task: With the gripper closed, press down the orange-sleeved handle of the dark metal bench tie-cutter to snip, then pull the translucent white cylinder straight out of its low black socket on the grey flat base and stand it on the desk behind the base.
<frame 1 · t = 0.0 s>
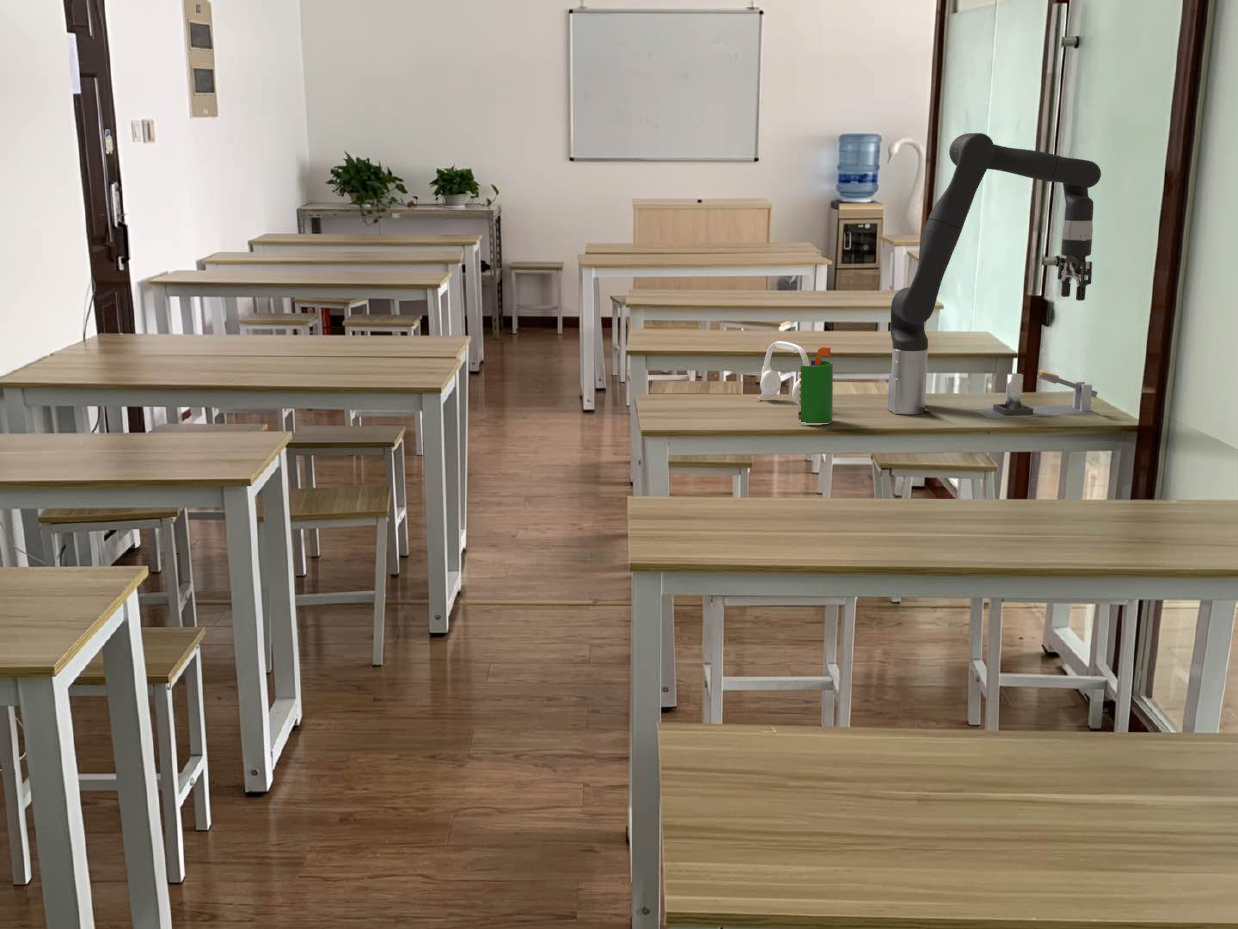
hand: (1072, 298, 335), 29 cm above the table, fingers open, 8 cm apart
green cup with straw: (815, 422, 326), on the table
translucent white cylinder: (1012, 412, 327), point 1 cm above the table, touching grey flat base
headset: (785, 406, 348), on the table
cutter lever: (1068, 383, 327), point 9 cm above the table, hinge at 20.0°
grey flat base: (1034, 416, 328), on the table
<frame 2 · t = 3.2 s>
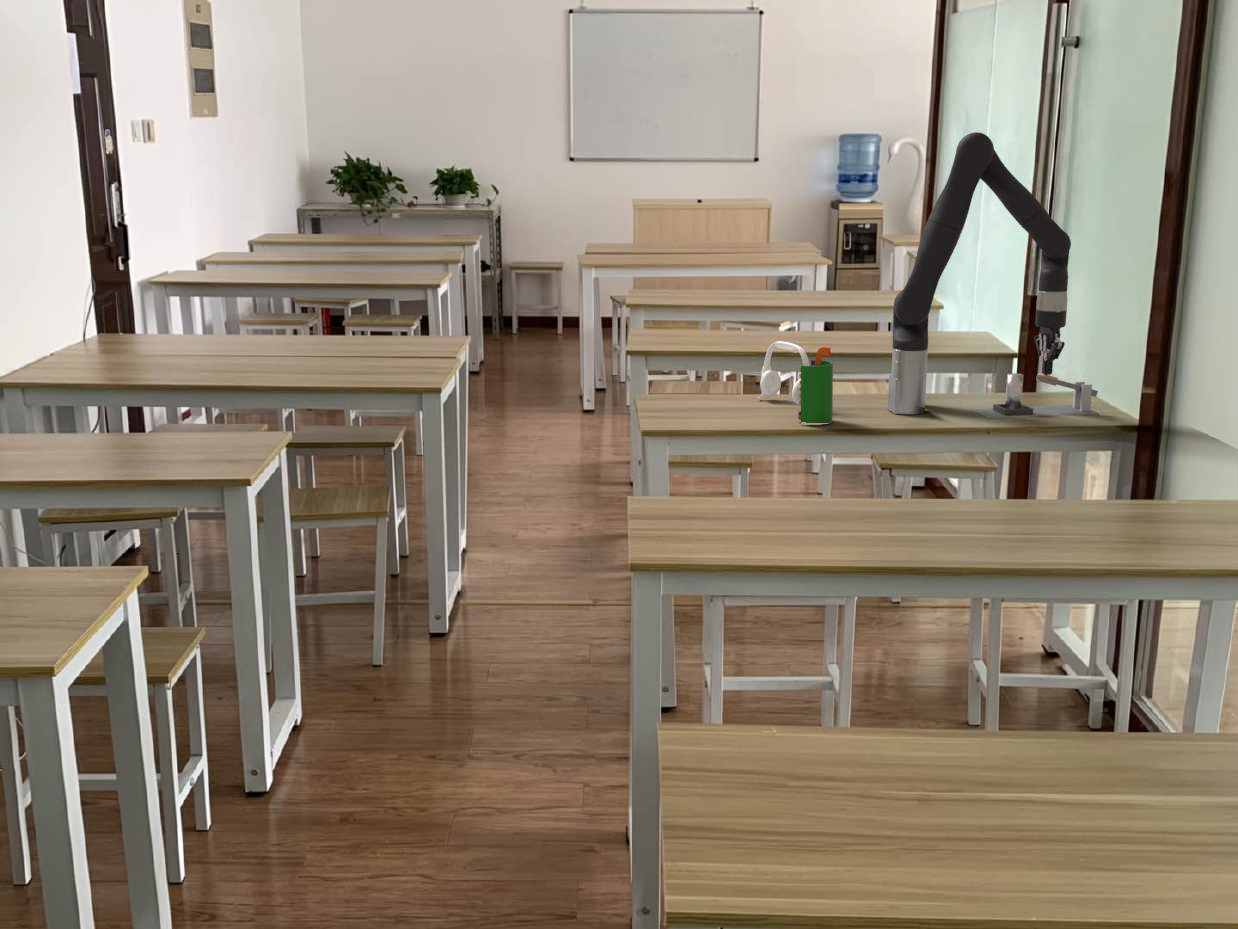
hand: (1046, 374, 325), 11 cm above the table, fingers closed
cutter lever: (1067, 384, 327), point 8 cm above the table, hinge at 16.2°, touching gripper
everything else where it was.
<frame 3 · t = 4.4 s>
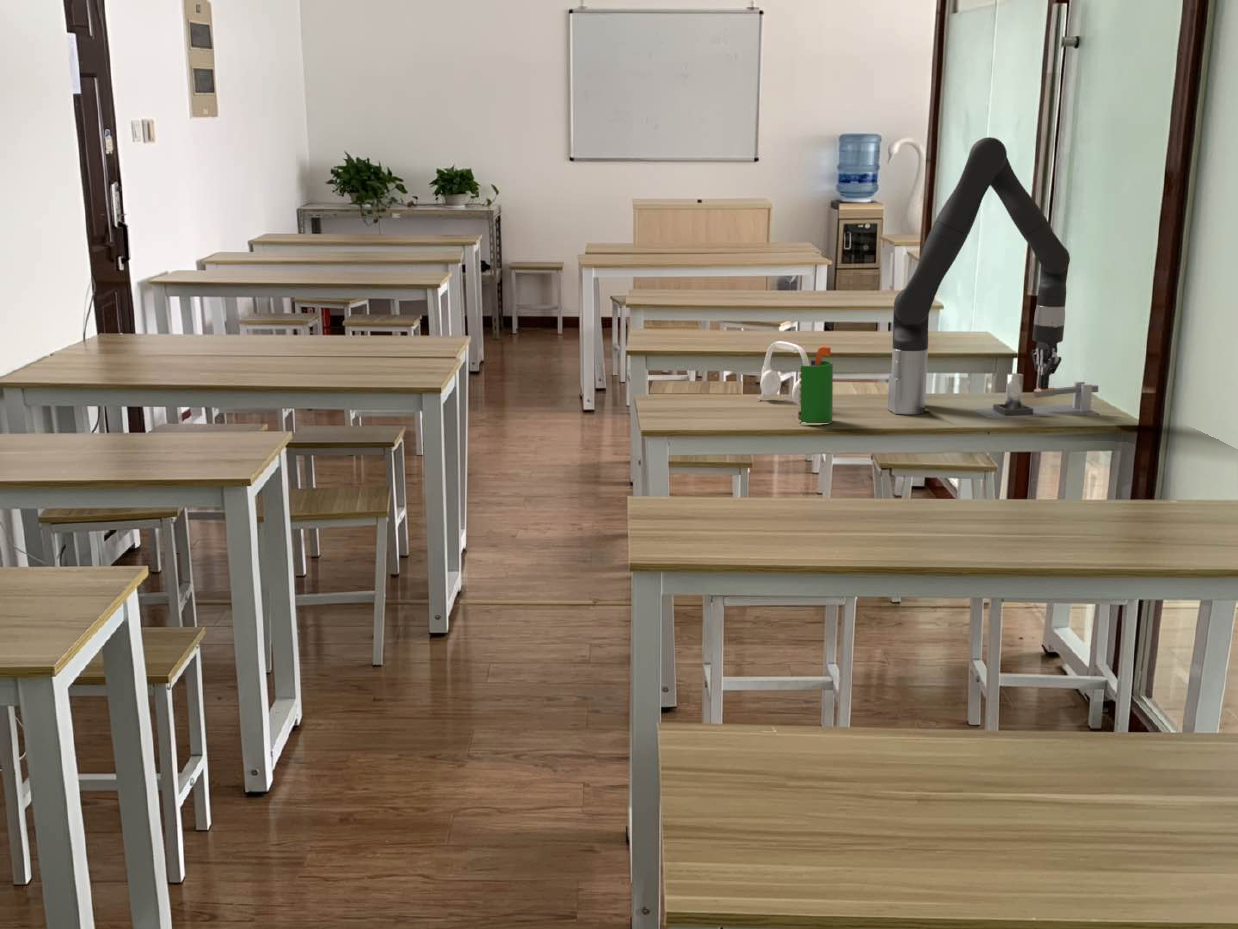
hand: (1043, 388, 326), 7 cm above the table, fingers closed
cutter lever: (1066, 390, 327), point 7 cm above the table, hinge at -3.1°, touching gripper
everything else where it was.
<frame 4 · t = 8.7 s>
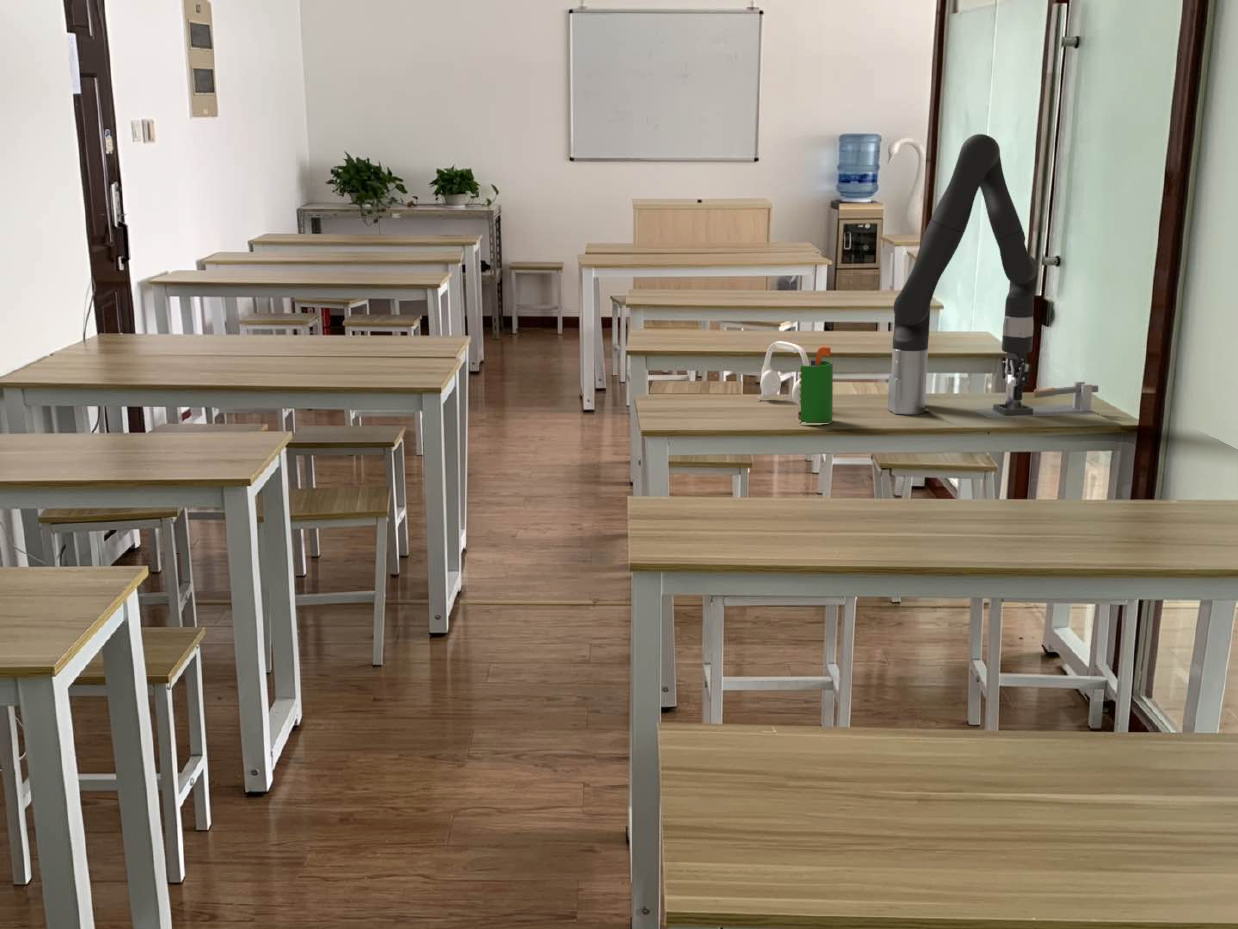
hand: (1013, 398, 326), 5 cm above the table, fingers closed on translucent white cylinder, 4 cm apart
translucent white cylinder: (1012, 412, 327), point 1 cm above the table, touching gripper, grey flat base
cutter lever: (1066, 390, 327), point 7 cm above the table, hinge at -3.2°
everything else where it was.
when the fingers open (6 cm above the table, at t = 16.0 s): translucent white cylinder drops 2 cm, on the table.
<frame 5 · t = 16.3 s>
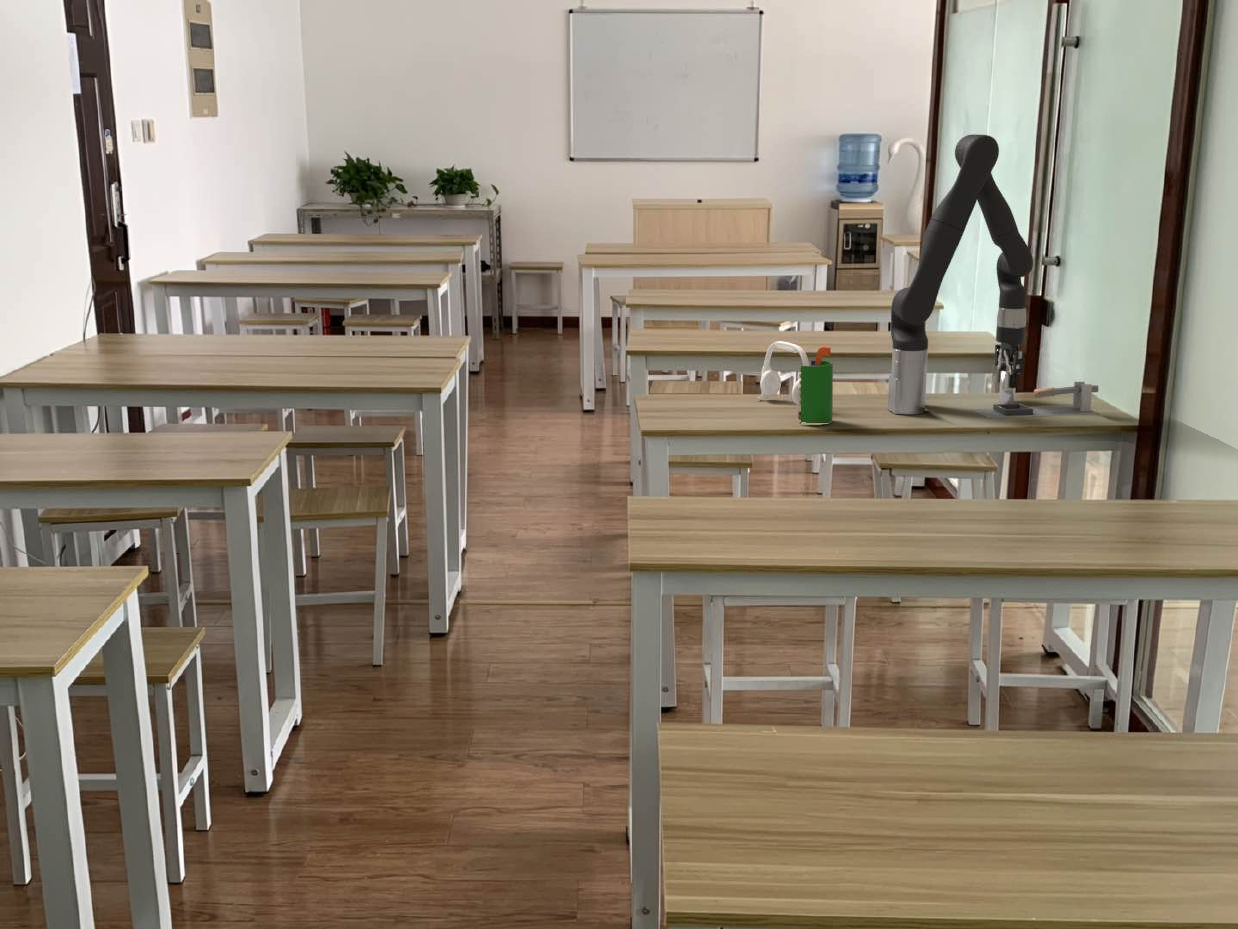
hand: (1007, 385, 339), 6 cm above the table, fingers open, 6 cm apart
translucent white cylinder: (1006, 407, 340), on the table
everything else where it was.
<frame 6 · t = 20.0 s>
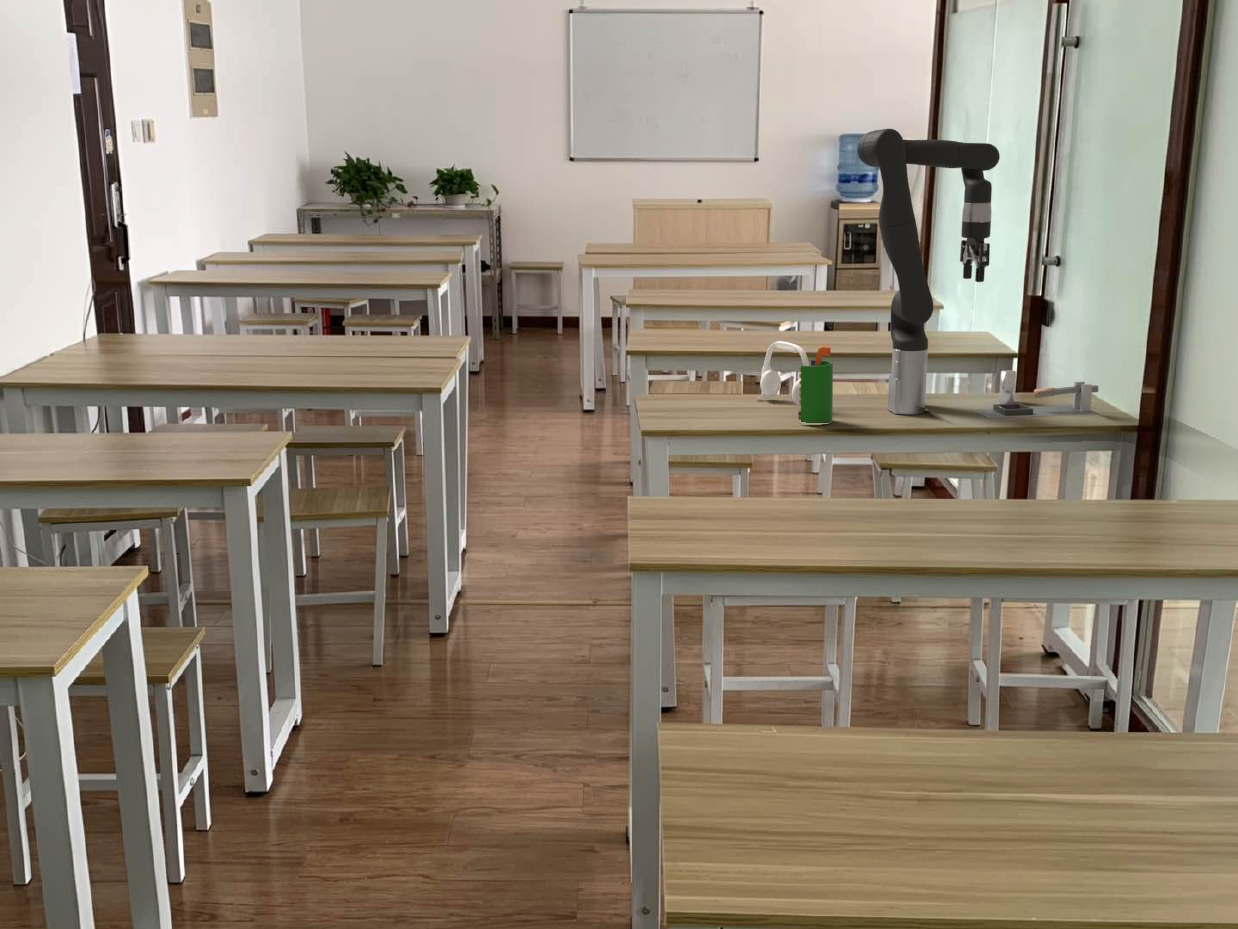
hand: (973, 280, 338), 34 cm above the table, fingers open, 8 cm apart
nothing on the table moved.
at the end: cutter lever at -3° (first picture: +20°); translucent white cylinder inside the target area (0.0 cm from its centre), on the table; translucent white cylinder tilted 0° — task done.
